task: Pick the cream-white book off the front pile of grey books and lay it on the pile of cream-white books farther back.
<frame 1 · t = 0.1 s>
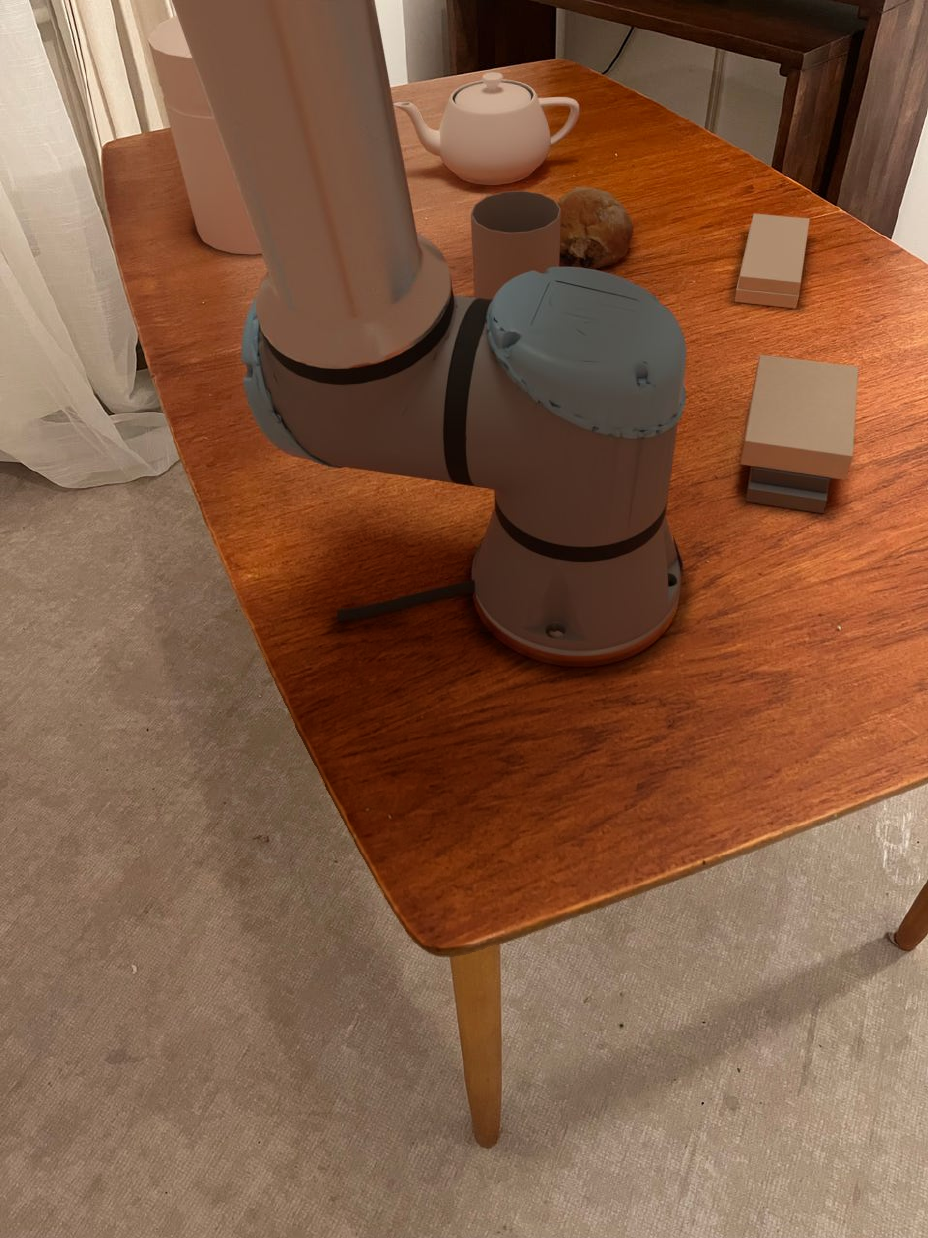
grey stack: (790, 453, 82), on the table
canister: (266, 221, 114), on the table
teapot: (488, 170, 121), on the table
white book: (797, 426, 80), point 3 cm above the table, touching grey stack
white stack: (771, 269, 102), on the table
bread roll: (583, 251, 106), on the table
cup: (516, 309, 99), on the table
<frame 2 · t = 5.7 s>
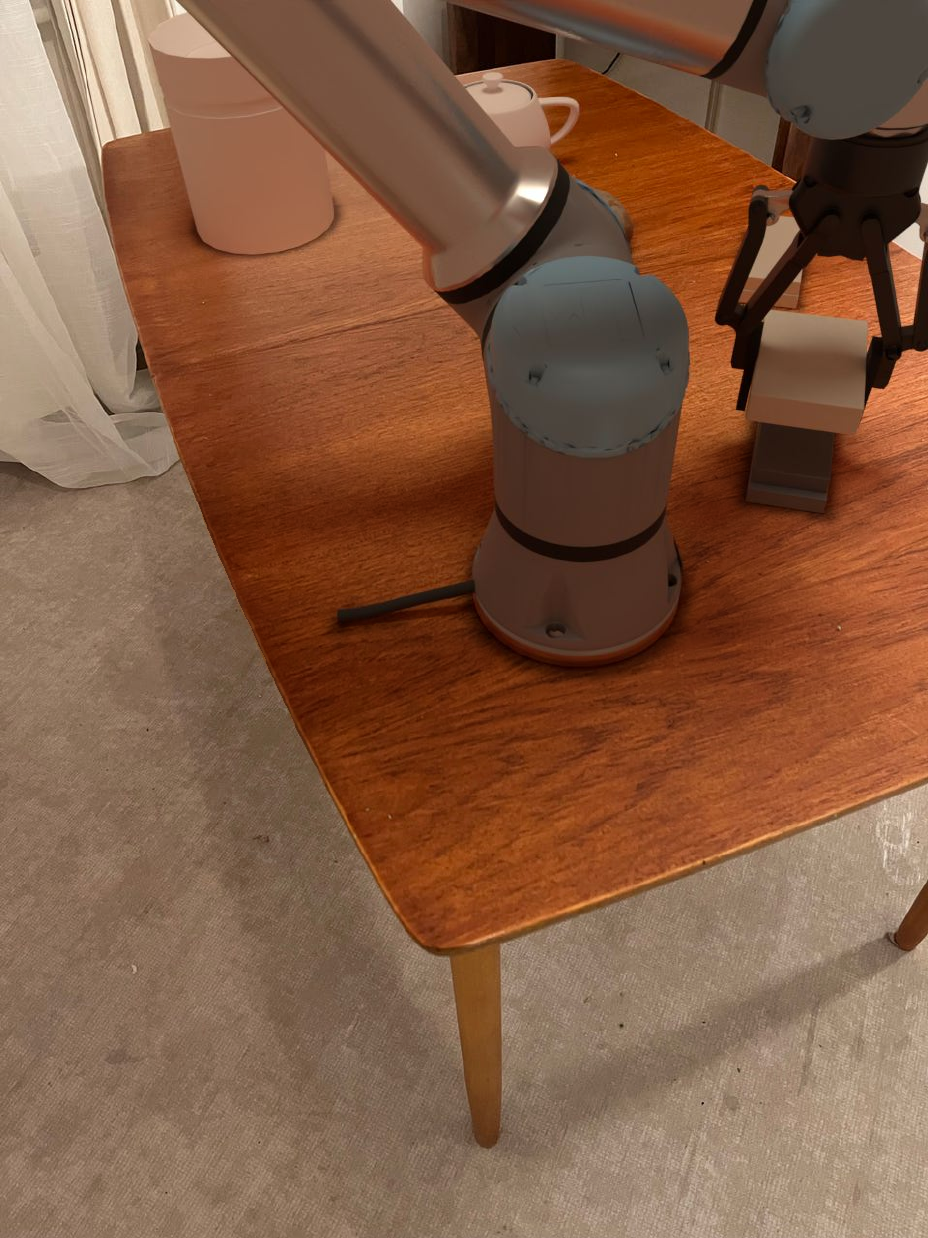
hand: (797, 408, 79), 5 cm above the table, tool pointing down, fingers closed on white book, 8 cm apart
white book: (805, 382, 77), point 7 cm above the table, touching gripper
everything else where it was.
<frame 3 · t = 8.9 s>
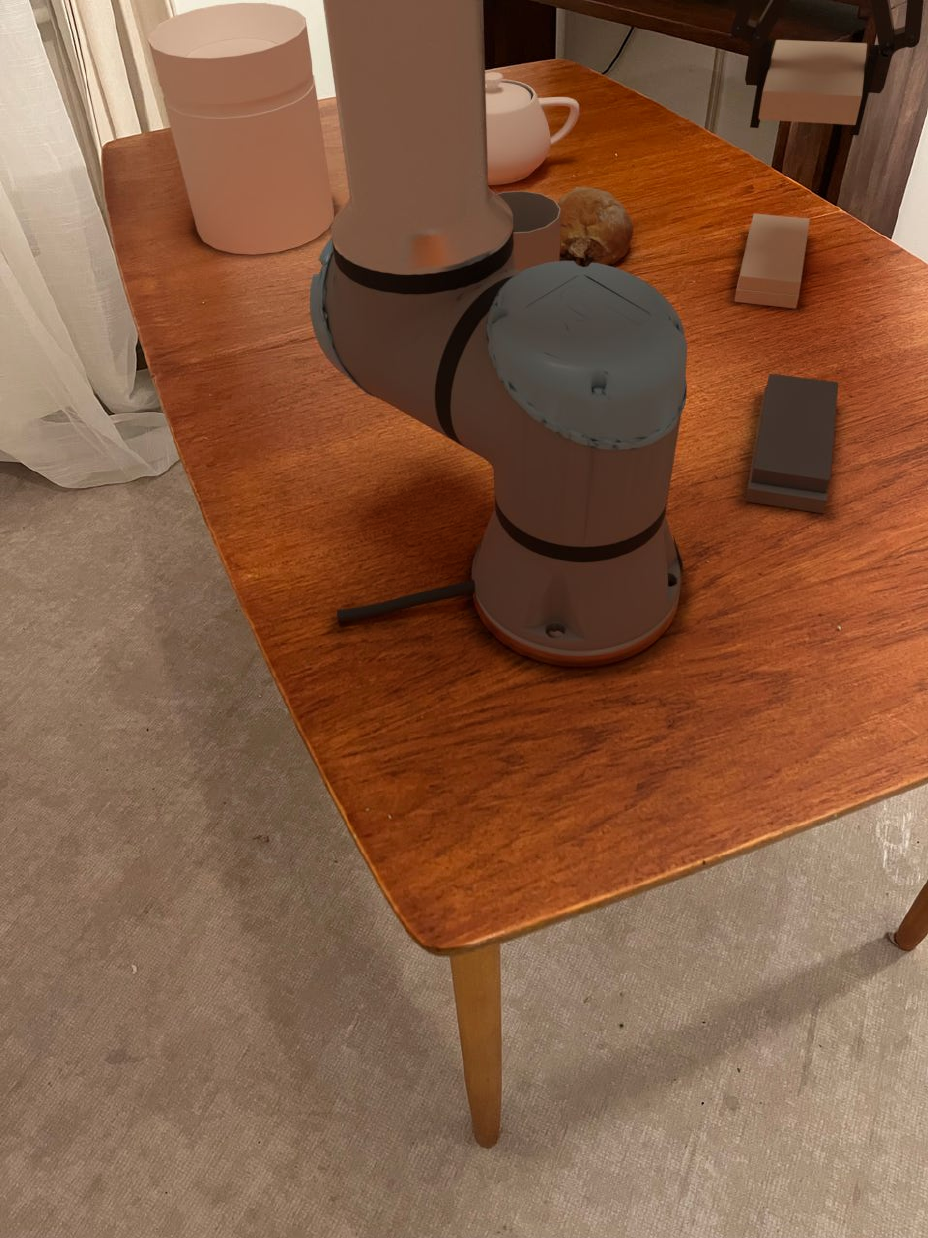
hand: (804, 124, 90), 15 cm above the table, tool pointing down, fingers closed on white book, 8 cm apart
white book: (811, 94, 88), point 18 cm above the table, touching gripper
everything else where it was.
when the fingers open (0 cm above the table, at t = 12.6 s): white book stays where it is, resting on white stack.
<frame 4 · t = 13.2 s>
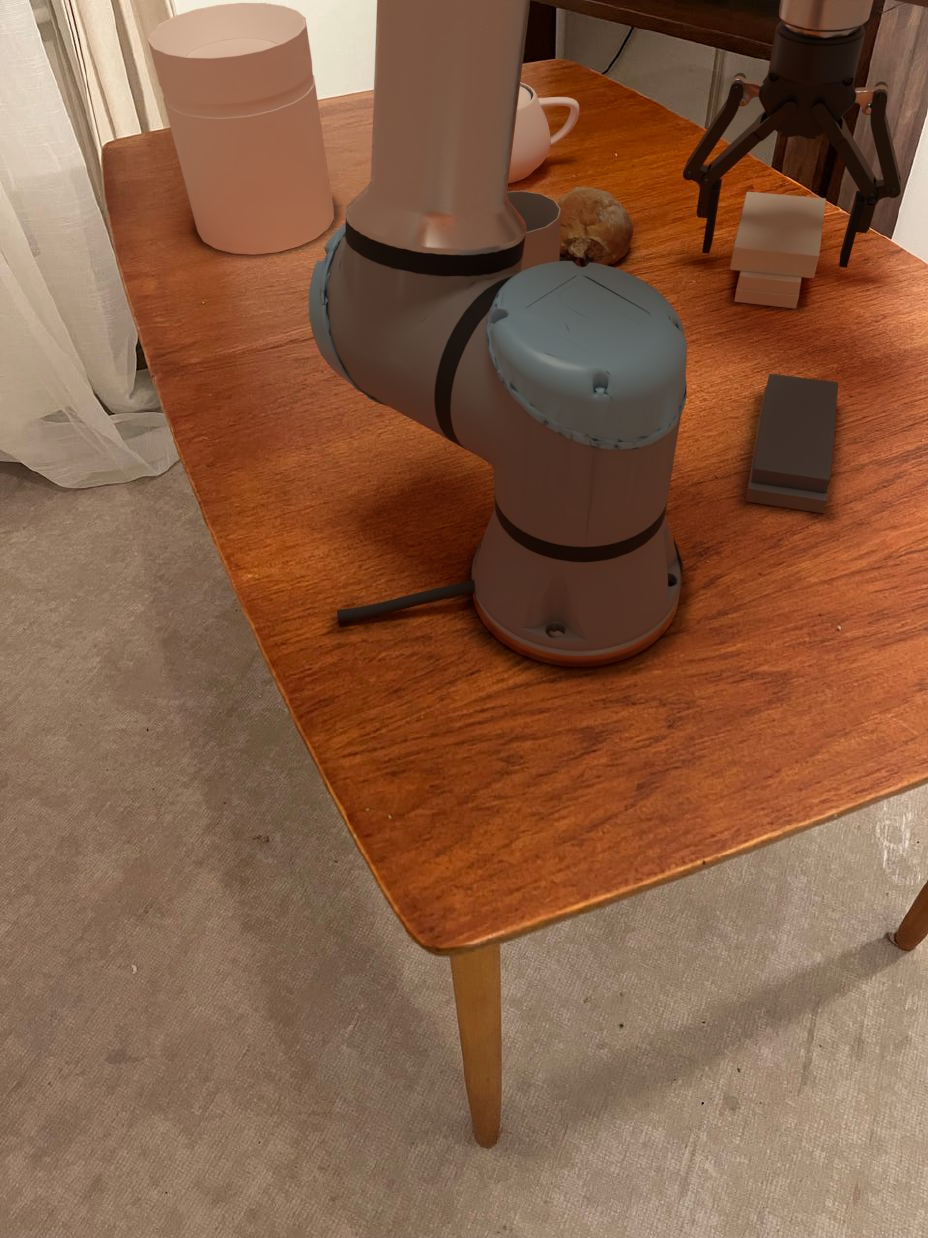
hand: (774, 253, 101), 2 cm above the table, tool pointing down, fingers open, 13 cm apart
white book: (776, 244, 100), point 3 cm above the table, touching white stack
everything else where it was.
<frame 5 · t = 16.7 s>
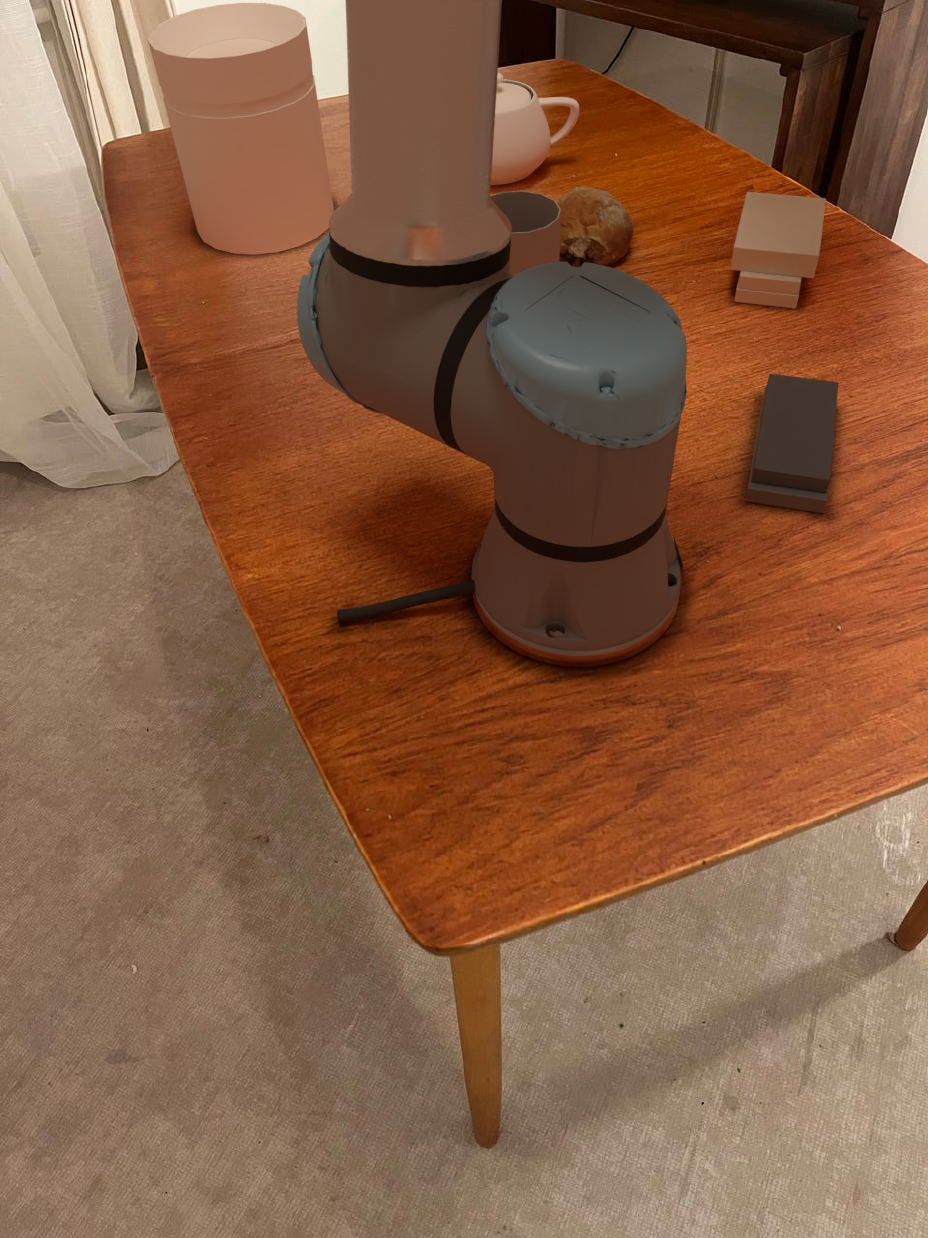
nothing on the table moved.
at the end: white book 0.0 cm off-centre on the white stack, point 2.8 cm above the white stack's base; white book tilted 0°; the gripper is holding nothing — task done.
